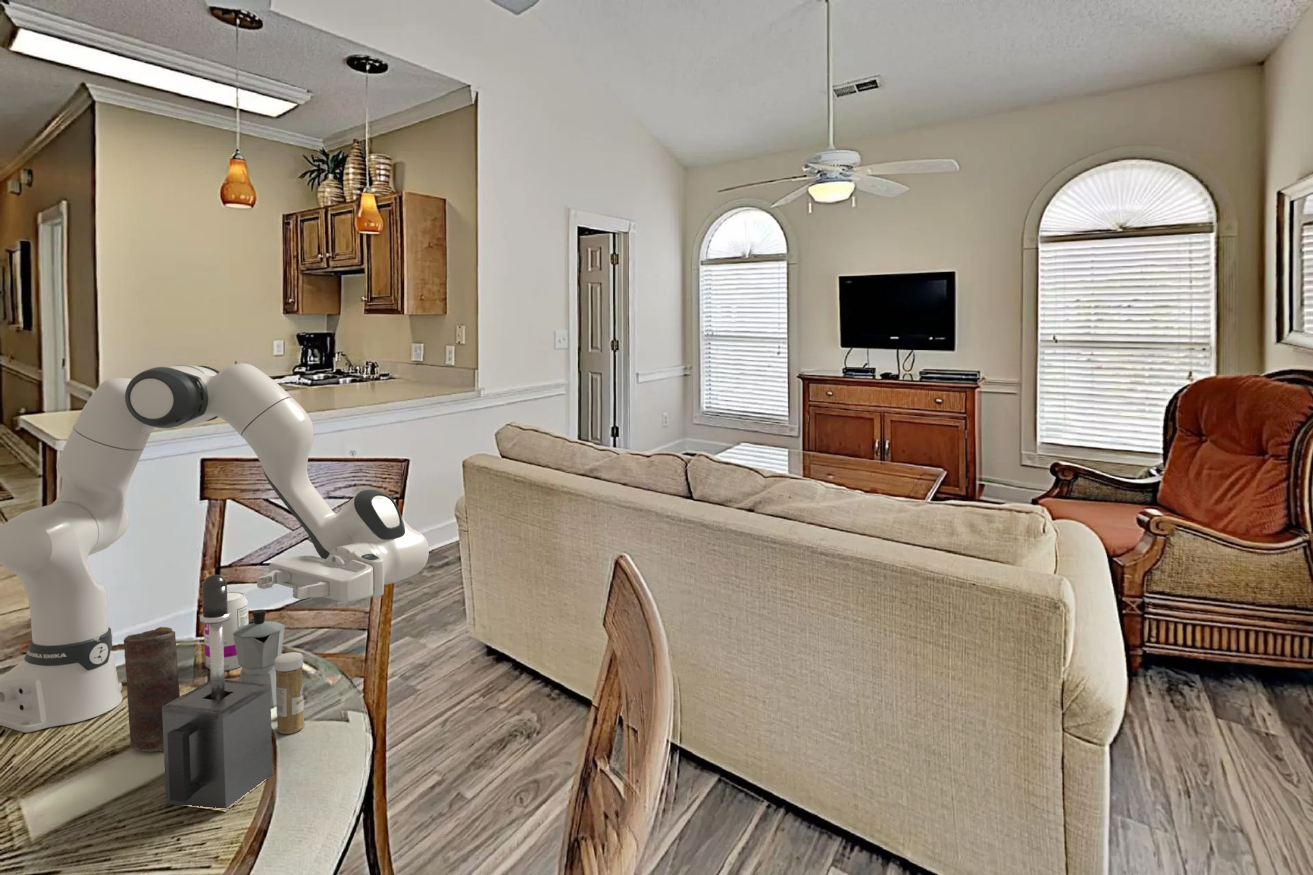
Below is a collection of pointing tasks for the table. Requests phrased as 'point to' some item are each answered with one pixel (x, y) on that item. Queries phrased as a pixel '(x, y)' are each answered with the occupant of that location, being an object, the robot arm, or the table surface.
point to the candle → (150, 684)
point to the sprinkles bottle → (289, 692)
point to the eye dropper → (215, 629)
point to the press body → (217, 744)
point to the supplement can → (229, 630)
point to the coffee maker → (259, 650)
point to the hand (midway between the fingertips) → (277, 588)
